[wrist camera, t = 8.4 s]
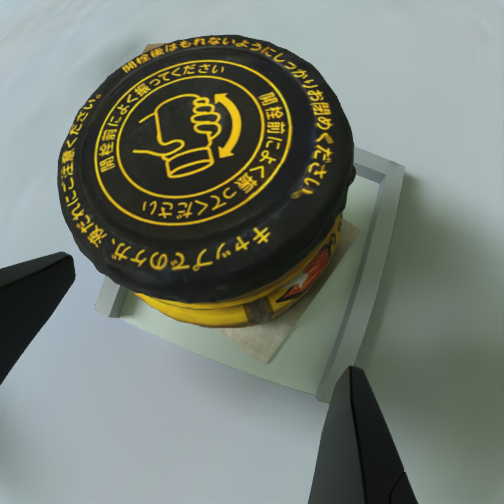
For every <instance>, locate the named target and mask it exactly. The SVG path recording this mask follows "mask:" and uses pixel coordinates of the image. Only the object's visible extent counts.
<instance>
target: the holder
mask: <svg viewBox="0 0 504 504" xmlns="http://www.w3.org/2000/svg"><path fill="white" fill-rule="evenodd" d="M353 165H354V167H355V169H356V177H355V179H354V182H353V183H352V184H351V185H350V186H349V189H348V194H347V202H346V207H345V209H344V210H343V219H345V220H347V221H348V222H350V223H352V224H353V225H354V226H356V227H357V228H359V229H360V230H361V231H360V232H359V234H358V236H357V237H356V239H355V240H354V242H353V243H352V245H351V246H350V248H349V249H348V251H347V252H346V254H345V255H344V256H343V258H342V260H341V261H340V262H339V264H338V265H337V267H336V268H335V270H334V271H333V273H332V274H331V275H330V277H329V278H328V280H327V281H326V283H325V284H324V286H323V287H322V288H321V290H320V291H319V292H318V294H317V296H316V297H315V298H314V299H313V301H312V302H311V304H310V305H309V306H308V308H307V309H306V311H305V312H304V313H303V315H302V316H301V317H300V319H299V320H298V321H297V323H296V324H295V325H294V327H293V328H292V329H291V331H290V332H289V333H288V335H287V336H286V337H285V339H284V340H283V341H282V343H281V344H280V345H279V347H278V348H277V349H276V350H275V352H274V353H273V354H272V356H271V357H270V358H269V359H268V361H267V362H266V363H265V365H263V364H262V363H260V362H259V361H258V360H256V359H255V358H253V357H252V356H251V355H249V354H248V353H247V352H245V351H244V350H243V349H241V348H240V347H239V346H238V345H236V344H235V343H234V342H232V341H231V340H230V339H229V338H227V337H226V336H225V335H223V334H222V333H221V332H220V331H218V330H217V329H216V328H213V329H212V328H205V327H200V326H198V325H193V324H189V323H183V322H178V321H176V320H174V319H173V318H170V317H168V316H166V315H164V314H163V313H161V312H160V311H158V310H157V309H155V308H152V307H151V306H149V305H148V304H147V303H146V302H144V301H143V300H142V299H141V298H140V297H139V296H137V295H135V293H134V292H133V291H132V290H130V289H128V288H126V287H123V286H121V285H118V284H116V283H114V282H113V281H112V280H111V279H110V278H109V277H108V276H106V277H105V279H104V282H103V285H102V287H101V290H100V293H99V296H98V298H97V301H96V304H95V307H94V310H96V311H98V312H100V313H101V314H103V315H105V316H107V317H112V318H120V319H122V320H124V321H126V322H128V323H130V324H132V325H134V326H136V327H138V328H140V329H142V330H145V331H147V332H149V333H151V334H153V335H155V336H158V337H160V338H162V339H164V340H166V341H169V342H171V343H173V344H176V345H178V346H180V347H183V348H185V349H187V350H190V351H192V352H194V353H197V354H199V355H202V356H204V357H207V358H209V359H212V360H214V361H217V362H219V363H222V364H225V365H227V366H230V367H232V368H235V369H238V370H240V371H243V372H246V373H249V374H252V375H254V376H257V377H260V378H263V379H266V380H269V381H272V382H275V383H278V384H281V385H284V386H287V387H290V388H293V389H296V390H300V391H303V392H306V393H309V394H313V395H315V396H316V397H317V399H318V400H319V401H322V402H326V403H329V404H330V402H331V398H332V394H333V390H334V387H335V384H336V382H337V381H338V379H339V378H340V376H341V375H342V374H343V372H344V371H345V370H346V368H347V367H348V366H350V365H352V366H354V364H355V361H356V358H357V355H358V352H359V349H360V347H361V344H362V341H363V338H364V335H365V332H366V328H367V325H368V322H369V319H370V316H371V313H372V309H373V306H374V303H375V299H376V296H377V292H378V289H379V285H380V281H381V278H382V274H383V270H384V266H385V262H386V258H387V254H388V250H389V246H390V242H391V237H392V233H393V228H394V224H395V219H396V214H397V209H398V204H399V199H400V193H401V188H402V182H403V176H404V170H405V166H402V165H400V164H397V163H395V162H393V161H390V160H388V159H385V158H383V157H380V156H378V155H375V154H372V153H370V152H367V151H364V150H362V149H359V148H356V147H354V163H353Z"/></svg>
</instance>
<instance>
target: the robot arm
mask: <svg viewBox="0 0 504 504" xmlns="http://www.w3.org/2000/svg"><path fill="white" fill-rule="evenodd" d="M75 276H76V275H75V268H74V260H73V257H72V256H71V255H69V254H67V253H65V252H58V253H54V254H51V255H47V256H43V257H40V258H36V259H33V260H29V261H26V262H22V263H19V264H15V265H12V266H8V267H5V268H1V269H0V385H1V384H2V382H3V381H4V379H5V378H6V376H7V375H8V373H9V372H10V370H11V369H12V367H13V366H14V365H15V363H16V362H17V360H18V359H19V358H20V356H21V355H22V353H23V352H24V351H25V349H26V348H27V347H28V345H29V344H30V343H31V341H32V340H33V339H34V337H35V336H36V335H37V333H38V332H39V331H40V329H41V328H42V327H43V326H44V324H45V323H46V322H47V320H48V319H49V318H50V317H51V315H52V314H53V312H54V311H55V309H56V308H57V306H58V305H59V303H60V302H61V300H62V299H63V297H64V296H65V294H66V293H67V291H68V290H69V288H70V287H71V285H72V284H73V282H74V280H75ZM308 504H418V502H417V500H416V497H415V495H414V492H413V490H412V487H411V485H410V483H409V480H408V477H407V475H406V472H404V467H403V464H402V462H401V459H400V457H399V454H398V452H397V449H396V447H395V444H394V442H393V439H392V437H391V434H390V432H389V429H388V427H387V424H386V422H385V419H384V417H383V415H382V412H381V410H380V407H379V405H378V403H377V400H376V398H375V396H374V393H373V391H372V389H371V386H370V384H369V382H368V380H367V377H366V375H365V373H364V371H363V369H361V368H358V367H355V366H352V365H350V366H348V367H347V368H346V370H345V371H344V372H343V374H342V375H341V376H340V378H339V379H338V381H337V382H336V384H335V387H334V390H333V394H332V398H331V402H330V405H329V409H328V413H327V416H326V420H325V423H324V427H323V430H322V435H321V440H320V445H319V451H318V456H317V462H316V467H315V472H314V477H313V482H312V487H311V492H310V496H309V501H308Z"/></svg>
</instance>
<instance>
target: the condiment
mask: <svg viewBox="0 0 504 504" xmlns="http://www.w3.org/2000/svg"><path fill="white" fill-rule="evenodd" d="M353 163H354V142H353V136H352V131H351V127H350V125H349V122H348V120H347V118H346V116H345V114H344V112H343V109H342V107H341V104H340V102H339V100H338V98H337V96H336V94H335V93H334V92H333V90H332V89H331V88H330V86H329V85H328V84H327V82H326V81H325V80H324V78H323V77H322V75H321V74H320V73H319V71H318V70H317V69H316V68H315V67H314V66H313V65H312V64H310V63H309V62H307V61H305V60H304V59H302V58H300V57H298V56H297V55H295V54H294V53H292V52H290V51H288V50H287V49H284V48H281V47H278V46H276V45H274V44H272V43H270V42H267V41H263V40H257V39H253V38H248V37H244V36H240V35H210V36H201V37H195V38H189V39H185V40H177V41H174V42H171V43H168V44H163V45H162V46H160V47H157V48H154V49H152V50H150V51H147V52H145V53H143V54H141V55H139V56H137V57H135V58H134V59H132V60H131V61H129V62H128V63H126V64H124V65H123V66H121V67H120V68H119V69H117V70H116V71H115V72H114V73H112V74H111V75H109V76H108V77H107V79H106V80H105V81H104V82H103V83H102V84H101V85H100V86H99V88H98V89H97V90H96V91H95V92H94V93H93V94H92V95H91V97H90V98H89V99H88V100H87V102H86V103H85V105H84V106H83V107H82V108H81V109H80V110H79V111H78V113H77V115H76V117H75V120H74V122H73V124H72V127H71V129H70V131H69V134H68V136H67V138H66V140H65V141H64V144H63V146H62V148H61V151H60V155H59V159H58V176H57V185H58V191H59V198H60V204H61V210H62V214H63V216H64V219H65V222H66V223H67V225H68V227H69V229H70V231H71V232H72V235H73V238H74V240H75V242H76V244H77V245H78V247H79V249H80V251H81V252H82V253H83V254H84V255H85V256H86V257H87V258H88V259H89V260H90V261H91V262H92V263H93V264H94V266H95V267H96V269H97V270H98V271H99V272H100V273H102V274H105V275H106V276H108V277H109V278H110V279H111V280H112V281H113V282H114V283H116V284H118V285H121V286H123V287H126V288H128V289H130V290H132V291H133V292H134V293H135V295H137V296H139V297H140V298H141V299H142V300H143V301H144V302H146V303H147V304H148V305H149V306H151V307H152V308H155V309H157V310H158V311H160V312H161V313H163V314H164V315H166V316H168V317H170V318H173V319H174V320H176V321H178V322H183V323H189V324H193V325H198V326H200V327H205V328H212V329H213V328H216V329H217V330H218V331H220V332H221V333H222V334H223V335H225V336H226V337H227V338H229V339H230V340H231V341H232V342H234V343H235V344H236V345H238V346H239V347H240V348H241V349H243V350H244V351H245V352H247V353H248V354H249V355H251V356H252V357H253V358H255V359H256V360H258V361H259V362H260V363H262V364H263V365H265V363H266V362H267V361H268V359H269V358H270V357H271V356H272V354H273V353H274V352H275V350H276V349H277V348H278V347H279V345H280V344H281V343H282V341H283V340H284V339H285V337H286V336H287V335H288V333H289V332H290V331H291V329H292V328H293V327H294V325H295V324H296V323H297V321H298V320H299V319H300V317H301V316H302V315H303V313H304V312H305V311H306V309H307V308H308V306H309V305H310V304H311V302H312V301H313V299H314V298H315V297H316V296H317V294H318V292H319V291H320V290H321V288H322V287H323V286H324V284H325V283H326V281H327V280H328V278H329V277H330V275H331V274H332V273H333V271H334V270H335V268H336V267H337V265H338V264H339V262H340V261H341V260H342V258H343V256H344V255H345V254H346V252H347V251H348V249H349V248H350V246H351V245H352V243H353V242H354V240H355V239H356V237H357V236H358V234H359V232H360V231H361V230H360V229H359V228H357V227H356V226H354V225H353V224H352V223H350V222H348V221H347V220H345V219H343V210H344V209H345V207H346V202H347V194H348V189H349V186H350V185H351V184H352V183H353V182H354V179H355V177H356V169H355V167H354V165H353Z"/></svg>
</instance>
